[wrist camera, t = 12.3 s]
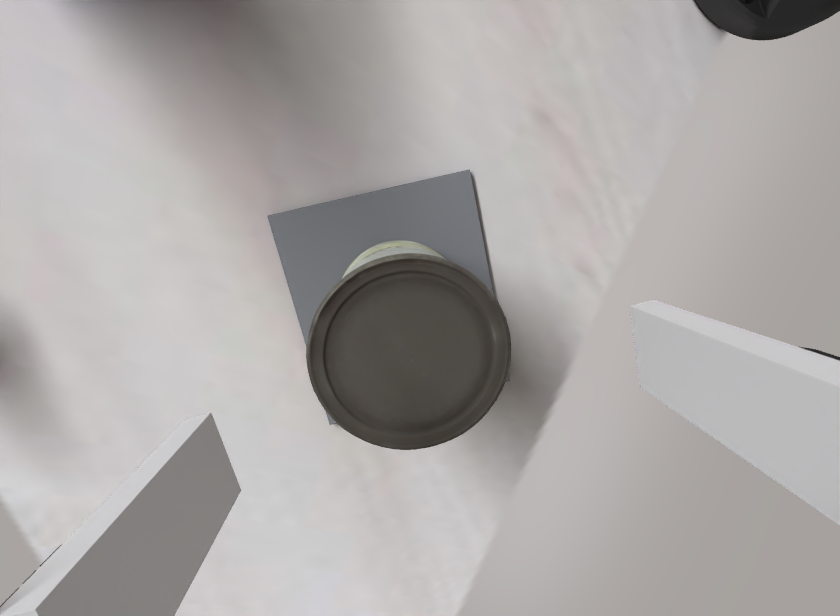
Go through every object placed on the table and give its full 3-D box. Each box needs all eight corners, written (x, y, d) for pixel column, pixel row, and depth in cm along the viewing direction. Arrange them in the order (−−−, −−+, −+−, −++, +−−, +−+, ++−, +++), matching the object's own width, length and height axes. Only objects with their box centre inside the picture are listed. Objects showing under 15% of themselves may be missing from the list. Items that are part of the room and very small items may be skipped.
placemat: (468, 170, 34) (469, 169, 34) (507, 378, 38) (509, 380, 38) (269, 215, 34) (267, 215, 33) (330, 421, 38) (329, 424, 37)
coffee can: (486, 283, 36) (551, 327, 22) (417, 383, 37) (437, 483, 23) (381, 212, 34) (379, 210, 20) (312, 320, 35) (266, 388, 21)
